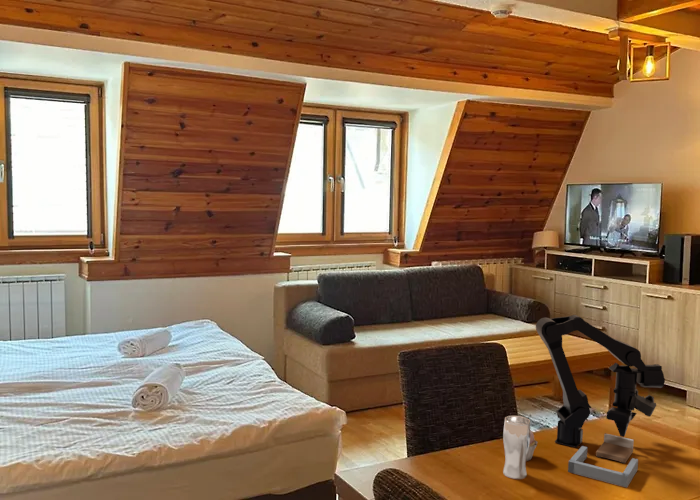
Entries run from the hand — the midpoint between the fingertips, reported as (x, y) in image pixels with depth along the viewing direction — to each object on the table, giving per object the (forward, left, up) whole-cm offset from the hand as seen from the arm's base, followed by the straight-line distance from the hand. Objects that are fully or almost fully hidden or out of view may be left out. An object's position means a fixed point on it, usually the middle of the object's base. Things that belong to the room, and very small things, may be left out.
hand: (622, 436), depth 190 cm
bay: (0, -23, -2) cm, 23 cm away
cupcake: (-21, -29, -3) cm, 36 cm away
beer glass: (-18, -41, -3) cm, 45 cm away
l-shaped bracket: (0, -10, -2) cm, 10 cm away
